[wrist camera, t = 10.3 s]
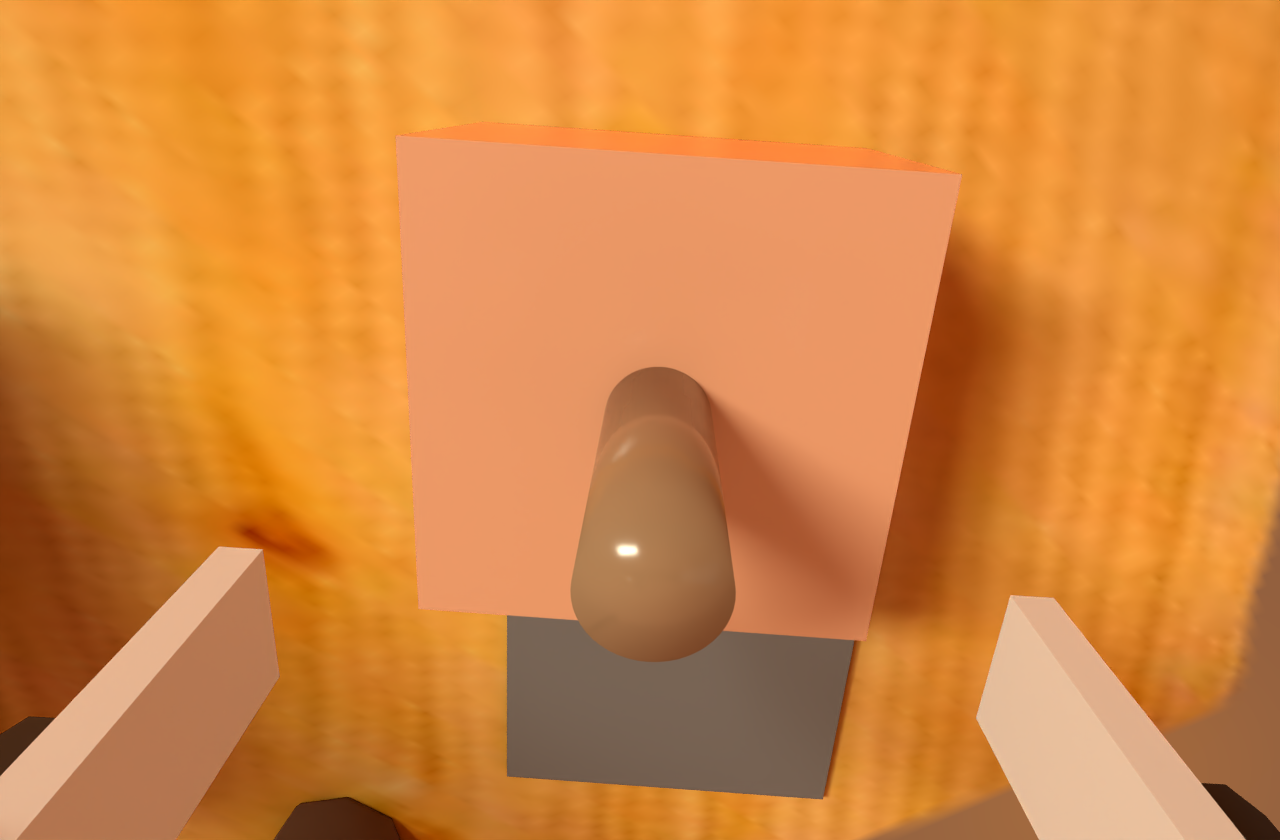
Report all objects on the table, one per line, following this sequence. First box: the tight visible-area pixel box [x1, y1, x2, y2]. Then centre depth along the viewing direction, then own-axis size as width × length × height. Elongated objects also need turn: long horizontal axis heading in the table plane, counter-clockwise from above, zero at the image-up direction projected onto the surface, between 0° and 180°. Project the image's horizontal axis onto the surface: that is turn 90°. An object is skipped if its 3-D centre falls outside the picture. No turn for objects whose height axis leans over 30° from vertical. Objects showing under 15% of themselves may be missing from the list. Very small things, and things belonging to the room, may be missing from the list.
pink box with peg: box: [396, 122, 962, 662], centre depth 25 cm, size 15×15×20 cm
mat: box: [507, 615, 854, 799], centre depth 40 cm, size 17×17×1 cm
